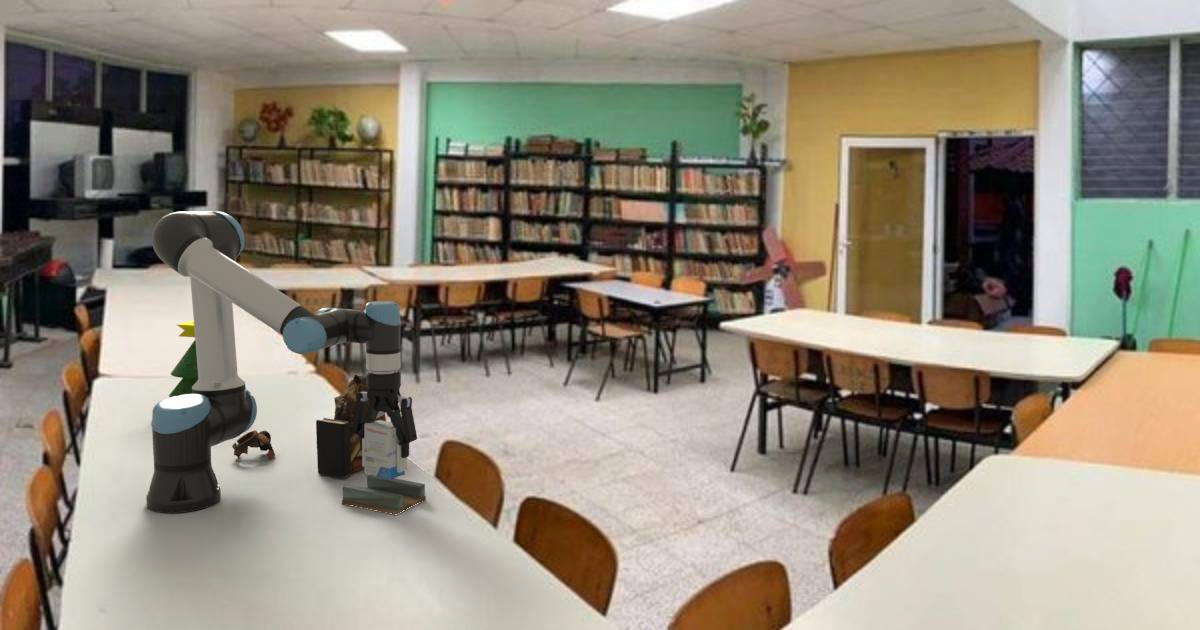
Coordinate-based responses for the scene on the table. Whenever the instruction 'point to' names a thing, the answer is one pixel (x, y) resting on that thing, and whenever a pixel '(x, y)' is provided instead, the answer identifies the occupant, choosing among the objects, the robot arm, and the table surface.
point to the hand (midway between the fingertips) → (384, 467)
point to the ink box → (381, 450)
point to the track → (384, 494)
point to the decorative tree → (186, 364)
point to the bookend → (341, 435)
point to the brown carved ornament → (254, 443)
